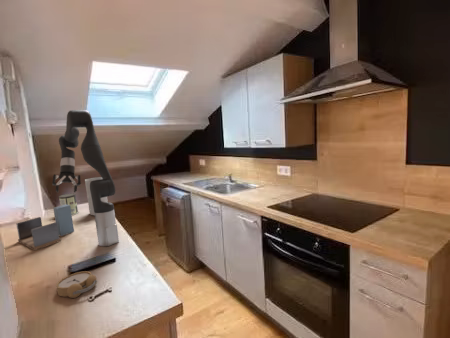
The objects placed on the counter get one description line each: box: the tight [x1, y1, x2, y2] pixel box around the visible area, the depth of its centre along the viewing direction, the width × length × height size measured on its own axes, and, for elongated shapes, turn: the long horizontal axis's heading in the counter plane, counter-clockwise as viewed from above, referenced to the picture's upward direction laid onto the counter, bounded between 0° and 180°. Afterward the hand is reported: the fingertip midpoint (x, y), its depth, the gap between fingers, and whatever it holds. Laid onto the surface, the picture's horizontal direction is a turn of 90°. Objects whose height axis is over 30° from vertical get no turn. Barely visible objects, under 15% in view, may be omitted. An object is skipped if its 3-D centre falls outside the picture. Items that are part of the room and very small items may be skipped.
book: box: [52, 204, 75, 237], centre depth 145 cm, size 4×7×16 cm, turn 147°
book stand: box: [17, 236, 62, 251], centre depth 136 cm, size 21×12×2 cm, turn 57°
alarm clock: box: [55, 270, 98, 299], centre depth 91 cm, size 11×5×15 cm
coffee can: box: [58, 193, 79, 216], centre depth 182 cm, size 10×10×14 cm
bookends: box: [15, 216, 60, 247], centre depth 136 cm, size 21×11×9 cm, turn 57°
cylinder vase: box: [84, 176, 109, 216], centre depth 181 cm, size 12×12×25 cm
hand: (66, 192), depth 149 cm, fingers open, 8 cm apart
